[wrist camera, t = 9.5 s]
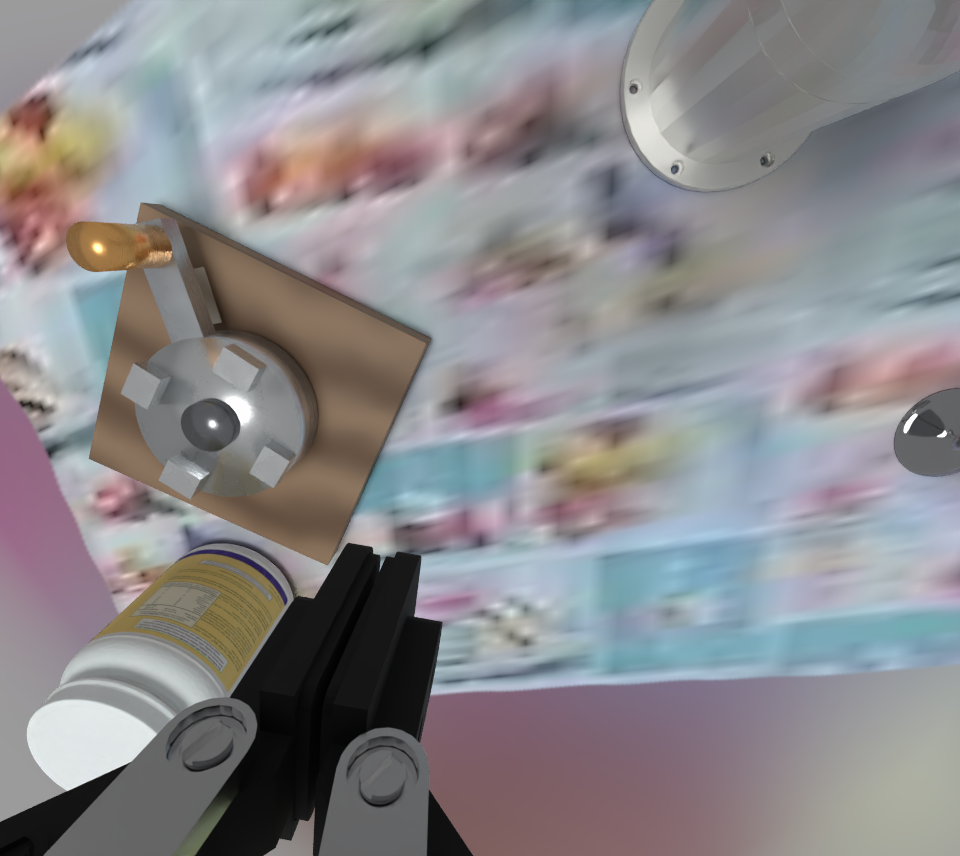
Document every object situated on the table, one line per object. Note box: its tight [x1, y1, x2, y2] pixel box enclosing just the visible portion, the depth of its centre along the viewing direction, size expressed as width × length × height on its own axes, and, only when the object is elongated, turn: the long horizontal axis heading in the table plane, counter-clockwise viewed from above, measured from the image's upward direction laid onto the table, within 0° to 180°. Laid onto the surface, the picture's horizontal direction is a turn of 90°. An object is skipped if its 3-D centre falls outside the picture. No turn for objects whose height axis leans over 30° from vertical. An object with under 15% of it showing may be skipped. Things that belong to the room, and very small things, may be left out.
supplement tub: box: [27, 544, 294, 791], centre depth 41 cm, size 12×12×17 cm
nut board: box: [89, 203, 431, 565], centre depth 40 cm, size 22×22×2 cm
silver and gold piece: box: [66, 218, 318, 499], centre depth 34 cm, size 20×12×8 cm, turn 11°
